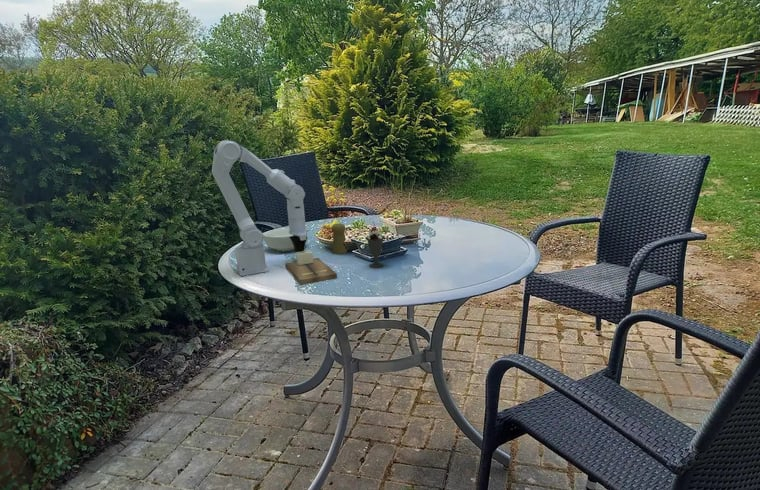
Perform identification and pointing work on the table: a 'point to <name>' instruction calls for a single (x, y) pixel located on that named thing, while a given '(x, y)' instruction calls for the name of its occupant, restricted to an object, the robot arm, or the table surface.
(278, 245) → the cereal bowl
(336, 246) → the olive brown pepper mill
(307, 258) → the cream block
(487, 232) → the table surface
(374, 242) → the sundae
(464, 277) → the table surface
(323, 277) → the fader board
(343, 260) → the table surface
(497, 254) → the table surface
